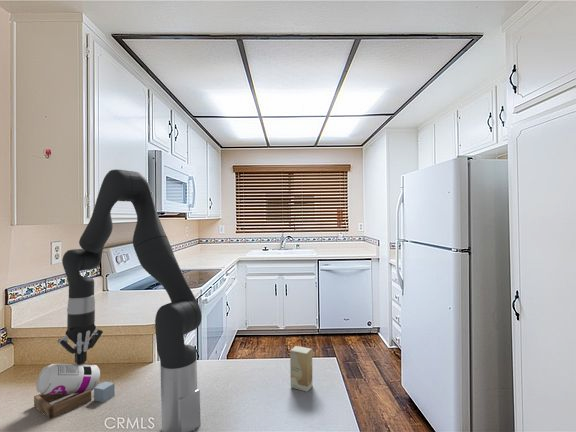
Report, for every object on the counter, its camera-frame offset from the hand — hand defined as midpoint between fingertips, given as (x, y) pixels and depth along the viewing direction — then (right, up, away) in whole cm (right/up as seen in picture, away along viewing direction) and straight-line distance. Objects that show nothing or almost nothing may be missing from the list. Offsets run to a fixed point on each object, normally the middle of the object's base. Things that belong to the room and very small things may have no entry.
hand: (80, 363), depth 103 cm
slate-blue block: (+9, -10, -3) cm, 14 cm away
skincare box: (+72, -8, 0) cm, 72 cm away
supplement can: (+3, -6, +3) cm, 7 cm away
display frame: (-2, -10, -5) cm, 11 cm away
